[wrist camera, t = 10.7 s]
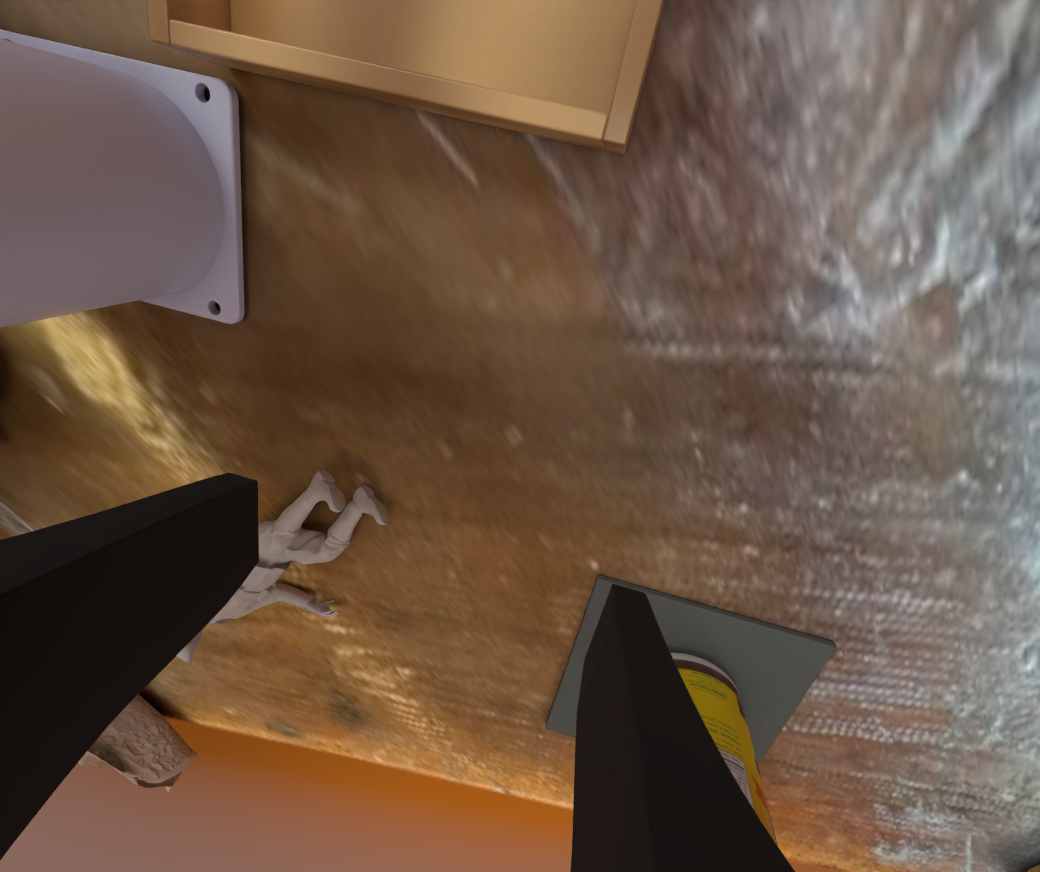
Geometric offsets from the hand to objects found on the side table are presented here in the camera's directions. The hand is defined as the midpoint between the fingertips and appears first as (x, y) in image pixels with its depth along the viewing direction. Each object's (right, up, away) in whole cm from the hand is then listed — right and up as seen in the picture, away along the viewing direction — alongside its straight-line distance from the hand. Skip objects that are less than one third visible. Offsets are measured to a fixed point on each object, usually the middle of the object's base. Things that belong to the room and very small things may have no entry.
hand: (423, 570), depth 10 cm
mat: (+9, -9, +14) cm, 19 cm away
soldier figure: (-9, -2, +15) cm, 17 cm away
